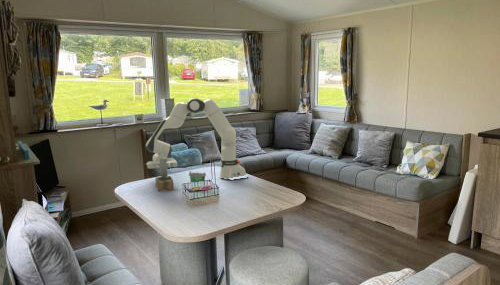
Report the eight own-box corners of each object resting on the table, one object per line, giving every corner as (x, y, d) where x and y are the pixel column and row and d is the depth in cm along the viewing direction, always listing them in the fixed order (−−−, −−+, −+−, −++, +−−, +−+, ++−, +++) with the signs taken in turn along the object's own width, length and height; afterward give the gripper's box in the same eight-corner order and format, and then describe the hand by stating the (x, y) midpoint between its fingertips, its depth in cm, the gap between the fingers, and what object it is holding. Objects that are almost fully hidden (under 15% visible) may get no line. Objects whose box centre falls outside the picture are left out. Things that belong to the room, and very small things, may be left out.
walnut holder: (170, 184, 263) (169, 175, 262) (173, 189, 250) (173, 180, 249) (155, 185, 259) (155, 176, 258) (158, 191, 246) (158, 182, 245)
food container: (186, 187, 257) (185, 173, 255) (190, 184, 262) (189, 171, 261) (202, 188, 253) (202, 174, 251) (205, 186, 259) (205, 172, 257)
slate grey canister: (166, 174, 256) (166, 157, 254) (168, 176, 252) (167, 159, 250) (159, 175, 255) (159, 158, 252) (160, 177, 250) (160, 159, 248)
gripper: (145, 159, 259) (147, 163, 247) (174, 157, 267) (178, 161, 254) (145, 167, 261) (148, 172, 248) (174, 165, 268) (178, 170, 255)
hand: (163, 166), depth 251 cm, fingers closed on slate grey canister, 5 cm apart
